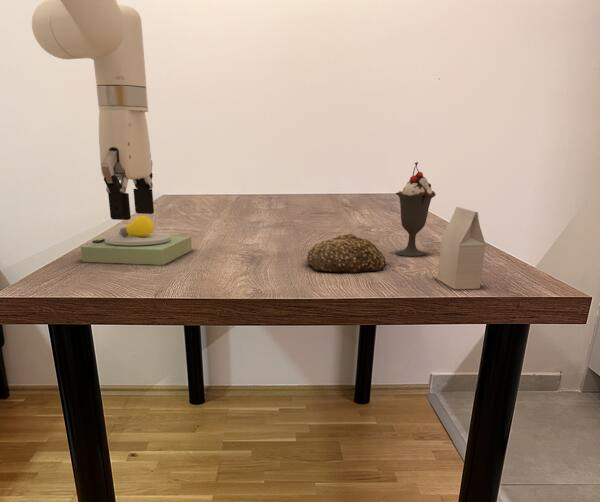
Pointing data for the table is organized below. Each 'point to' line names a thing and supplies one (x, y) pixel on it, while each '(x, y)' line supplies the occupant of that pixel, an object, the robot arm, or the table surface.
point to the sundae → (414, 209)
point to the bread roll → (345, 255)
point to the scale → (136, 249)
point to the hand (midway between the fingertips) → (133, 216)
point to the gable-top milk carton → (462, 251)
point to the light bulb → (138, 227)
